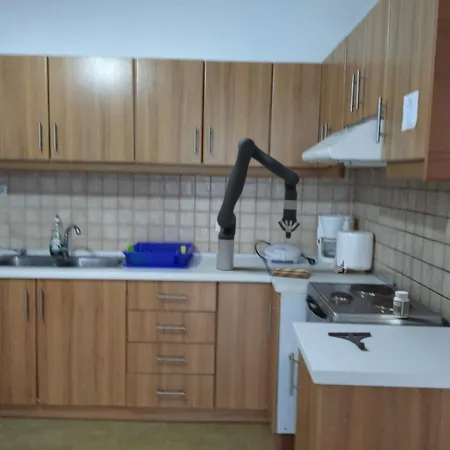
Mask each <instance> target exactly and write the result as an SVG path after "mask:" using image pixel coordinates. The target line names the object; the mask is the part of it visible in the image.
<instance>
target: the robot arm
mask: <svg viewBox="0 0 450 450" xmlns="http://www.w3.org/2000/svg"><path fill="white" fill-rule="evenodd" d="M237 149H238V150H237V155H236V160H235V163H234V165H233V168H232V170H231V172H230V174H229V177H228V181H227V184H226V189H225V193H224V196H223V201H222V204H221V206H220V209H219V212H218V214H217V217H216V221H217V225H218V226H219V227H220V229H219V233H218V234H217V251H216V263H215V265H216V266H215V267H216V269H217V270H219V271H232V270H234V267H235V266H234V264H235V260H234V259H235V257H234V256H235V235H236V229H237V217H236V216H237V215H236V214H235V212H234V211H235V207H236V204H237V203H238V200H239V199H240V197H241V195H242V193H243V191H244V187H245V184H246V181H247V180H246V179H247V175H248V171H249V166H250V162H251V160H252V159H253V160H255V161H256V162H258V163H259V164H261V165H262V166H263V167H264V168H265V169H267V170H268V171H269V172H271V174H274V175H275V176H277V177H278V178H280V179H282V180H283V181H284V200H283V207H282V217H281V220H279V221H278V222H277V223H278V225H279V227H280V228H281V229H282V231H283V232H285V238H286V239H288V240H289V239H291V238H292V232H294V231H296V230H297V229H298V227H300V226H301V223H300V222H299V221H298V218H297V211H298V210H297V209H298V201H297V200H298V191H297V184H299V182H300V176H299V174H298V173H296V172H295V171H294V170H292V169H290V168H288V167H286V165H284V163H283V164H282V163H281V162H280V161H278V160H277V159H276V158H274V157H273V156H271V155H269V154H268V153H267V152H264V150H262V149H261V148H259V147H258V146H257V145H256V143H255V141H254V139H251V138H249V137H243V138H241V139H240V140H239V141H238V144H237ZM293 226H294V227H293Z"/></svg>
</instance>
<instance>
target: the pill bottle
mask: <svg viewBox="0 0 450 450" xmlns="http://www.w3.org/2000/svg"><path fill="white" fill-rule="evenodd" d="M394 293H395V294H394V295H395V296H394V298H393V303H392V304H393V306H392V315H393V314H395V315H403V316H405V315H408V314H410V313H409V311H410V309H409V308H410V299H409V298H408V297H409V292H408V291H403V290H396V291H395V292H394ZM408 316H409V315H408Z"/></svg>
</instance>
